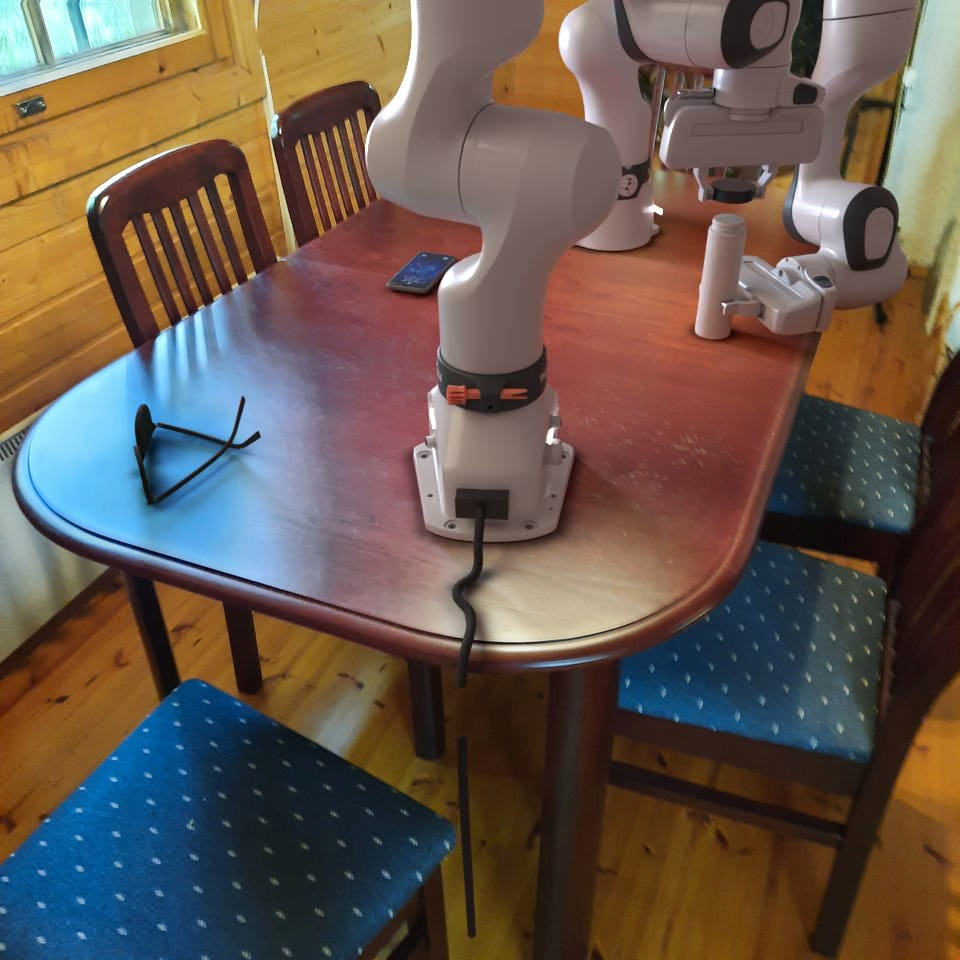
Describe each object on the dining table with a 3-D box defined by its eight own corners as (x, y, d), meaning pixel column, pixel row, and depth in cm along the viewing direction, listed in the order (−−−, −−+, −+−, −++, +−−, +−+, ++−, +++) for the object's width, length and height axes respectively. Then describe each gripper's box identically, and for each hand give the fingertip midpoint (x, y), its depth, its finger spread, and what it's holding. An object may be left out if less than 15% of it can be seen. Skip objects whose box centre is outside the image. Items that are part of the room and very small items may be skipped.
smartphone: (458, 255, 148) (426, 290, 136) (458, 261, 148) (426, 296, 137) (419, 250, 150) (383, 284, 138) (419, 255, 150) (384, 289, 139)
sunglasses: (270, 486, 97) (262, 449, 94) (137, 510, 94) (125, 474, 91) (257, 411, 110) (250, 377, 107) (140, 430, 107) (130, 396, 104)
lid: (761, 196, 114) (763, 183, 113) (741, 207, 110) (743, 194, 109) (721, 187, 117) (723, 175, 116) (700, 198, 113) (702, 186, 112)
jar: (690, 335, 124) (706, 222, 114) (699, 321, 128) (715, 210, 118) (725, 342, 122) (744, 227, 112) (733, 327, 126) (752, 215, 116)
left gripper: (673, 95, 102) (660, 210, 110) (839, 89, 103) (814, 203, 112) (659, 84, 107) (648, 195, 115) (817, 78, 109) (795, 188, 117)
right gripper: (764, 240, 131) (681, 251, 128) (844, 294, 115) (751, 308, 112) (757, 279, 134) (676, 291, 132) (833, 336, 119) (743, 351, 116)
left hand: (731, 199), depth 113 cm, fingers closed on lid, 5 cm apart
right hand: (711, 299), depth 122 cm, fingers closed on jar, 5 cm apart
